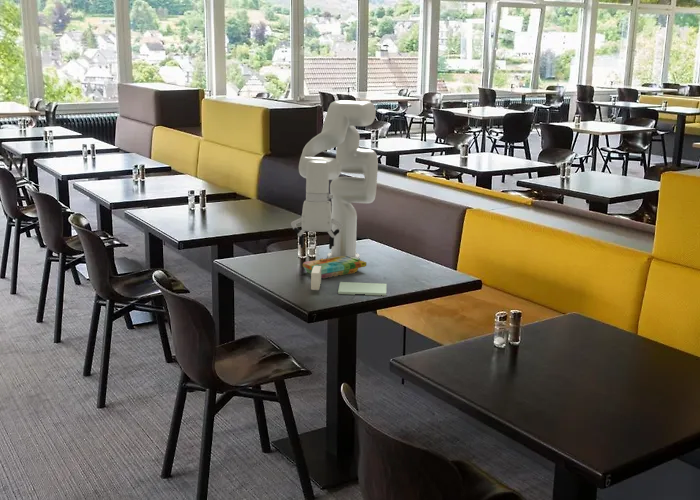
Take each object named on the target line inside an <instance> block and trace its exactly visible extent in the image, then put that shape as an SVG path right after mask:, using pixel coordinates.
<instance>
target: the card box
mask: <svg viewBox="0 0 700 500" xmlns="http://www.w3.org/2000/svg"><path fill="white" fill-rule="evenodd" d="M320 284H322V279H321V266H314V267H313V269H312V272H311V274H310V290H311V291H319V290H320V287H321V285H320Z"/></svg>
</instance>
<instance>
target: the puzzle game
mask: <svg viewBox="0 0 700 500" xmlns="http://www.w3.org/2000/svg"><path fill="white" fill-rule="evenodd" d="M314 266H321V278H323V279H327V277H329V278H333V277H332V276H334V277H339V276H338V275H340V276H344V275H350V274H355V272H356V273H357V272H358V270H359V269H361V268H365V267H366V266H367V261H364V260H361V259H360V258H359V259H356V258H353V257H350V256H348V255H347V256H340V257H334V258H323V257H322V258H320V259H315V260H310V261H309V260H307V261H304V262H303V263H302V268H303V269H304V270H305V272H306V273H308V274H309V275H311V272H312V269H313V267H314Z"/></svg>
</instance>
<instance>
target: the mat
mask: <svg viewBox="0 0 700 500" xmlns="http://www.w3.org/2000/svg"><path fill="white" fill-rule="evenodd" d="M387 286H388V285H387V283H377V282H376V283H375V282H374V283H373V282H351V281H350V282H349V281H348V282H347V281H340V282H339V286H338V291H337V294H338V295H355V294H365V295H364V296H381V295H382V297H383V296H387Z"/></svg>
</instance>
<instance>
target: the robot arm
mask: <svg viewBox="0 0 700 500" xmlns="http://www.w3.org/2000/svg"><path fill="white" fill-rule="evenodd" d="M376 113H377V111H376V107H375V104H374V103H373V102H371V101H362V100H345V99H344V100H342V99H341V100H335V101H332V102H331V103H330V104H329V106H328V108H327V112H326V114H325V115H326V116H325V119H324V123H323V125H322V129H321V132H320V133H318V134H317V135H315V136H313V137H312V138H311V139H310V140H309V141H308V142H307V143H306V144H305V146H304V147H303V149H302V153H301V155H300V158H299V163H298V173H299V175H300V176H301V177H302V178H303V179H305V181H306V182H305V200H304V201H303V204H302V213H301V217H300V218H297V219H295V220H293V221H291V223H290V225H291V228H292V230H293V231H294V232H295V233H296V235H297V237H298V245H299V246H300V249H303V248H304V245H305V244H304V243H305V235H304V233H306V232H315V233H316V232H317V233H318V232H320V233H321V232H322V233H328V235H329V239H328V241H329V243H328V245H329V246H328V249H329V250H330V251H331V252H328V253H326V254H327V255H326V257H327V258H334V257H340V256H347V255H348V256H350V257H353V258H356V259H359V260H360V258H361V257H360V256H361V255H360V254H359V253H358V252H357V228H358V226H357V222H358V221H357V220H358V214H357V213H358V212H357V210H356V208H355V207H354V205H353V204H354V203H355V204H372V203H373V202H374V201H375V199H376V196H377V195H376V194H377V185H378V184H377V183H378V167H379V164H378V163H379V161H378V160H379V158H378V155H377V153H376V151H375V150H373V149H369V148H360V137H361V136H360V133H359V131H358V130H357V128H356V127H368V126H370V125H372V124H373V123H374V121H375V118H376ZM334 148H336V149H335V150H336V151H335V158H334V157H325V156H324V157H323V156H316V155H318V154H320V153H322V152H324V151H329V150H331V149H334ZM342 173H343V174H353V175H356V174H357V175H363V176H364V177H353V176H340V175H341V174H342ZM330 181H331V182H330ZM330 200H331V201H330ZM352 203H353V204H352ZM300 223H301V229H299V227H297V224H300ZM327 258H326V259H327Z"/></svg>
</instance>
